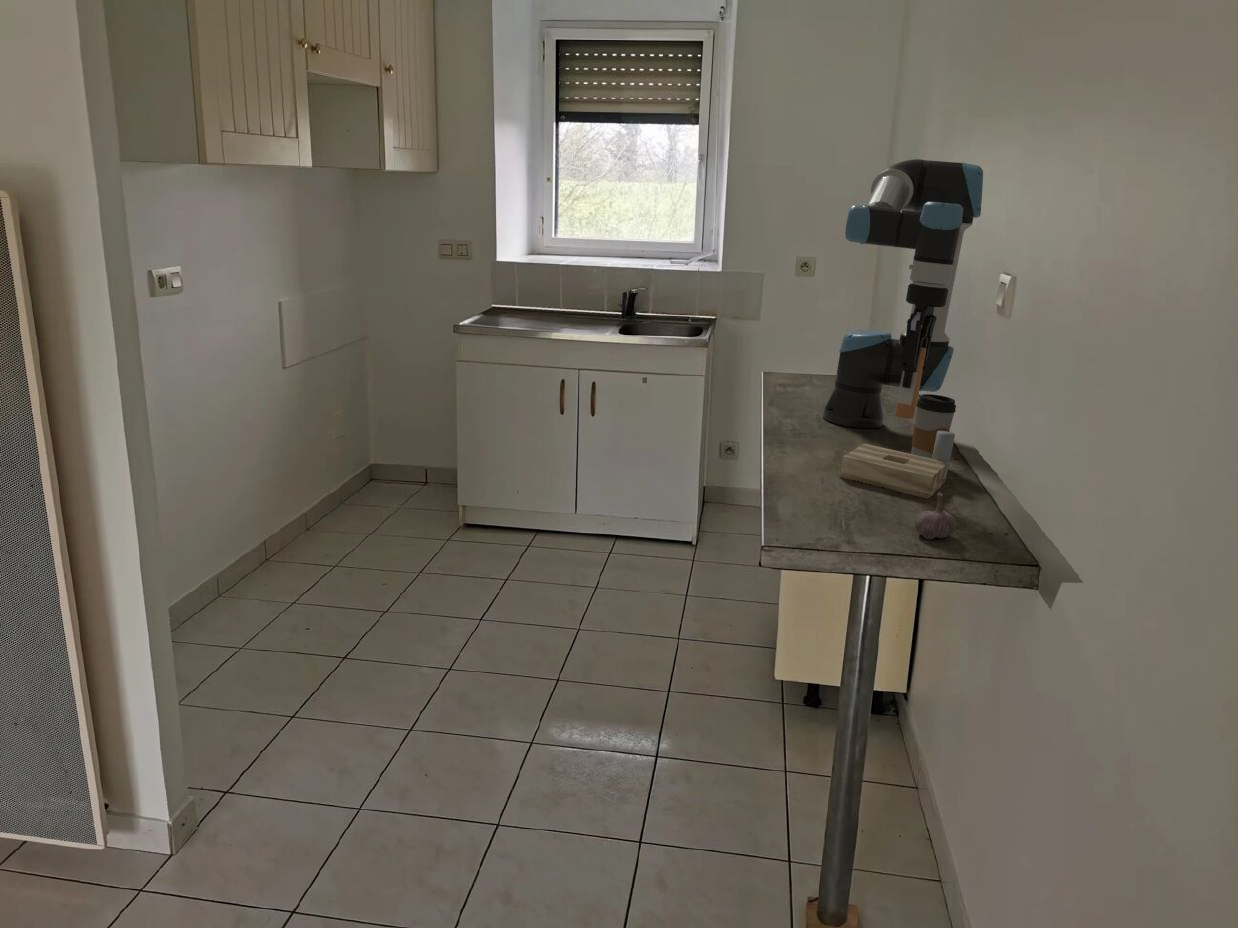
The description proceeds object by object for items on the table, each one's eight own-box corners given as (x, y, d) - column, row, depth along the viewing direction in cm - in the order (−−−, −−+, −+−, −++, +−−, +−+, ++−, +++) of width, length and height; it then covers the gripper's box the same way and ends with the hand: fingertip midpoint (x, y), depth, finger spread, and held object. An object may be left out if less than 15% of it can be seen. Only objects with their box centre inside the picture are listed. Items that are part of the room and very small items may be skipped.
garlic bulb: (923, 543, 163) (932, 499, 161) (903, 527, 170) (911, 485, 168) (963, 544, 165) (972, 500, 163) (942, 528, 172) (951, 486, 169)
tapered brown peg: (897, 413, 196) (910, 345, 192) (915, 416, 194) (928, 348, 190) (893, 415, 193) (905, 347, 189) (910, 419, 191) (923, 350, 187)
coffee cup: (928, 457, 218) (940, 393, 214) (952, 469, 211) (966, 402, 206) (897, 458, 215) (910, 393, 211) (921, 470, 208) (934, 402, 203)
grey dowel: (930, 475, 204) (939, 429, 202) (947, 479, 203) (956, 433, 200) (926, 478, 201) (935, 432, 199) (943, 482, 200) (952, 436, 197)
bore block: (860, 463, 208) (863, 443, 207) (944, 483, 200) (948, 462, 198) (839, 477, 196) (843, 456, 195) (927, 498, 188) (932, 477, 187)
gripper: (920, 280, 195) (899, 392, 202) (898, 283, 181) (876, 404, 188) (957, 285, 191) (935, 399, 198) (938, 289, 178) (915, 412, 184)
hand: (906, 401), depth 193 cm, fingers closed on tapered brown peg, 3 cm apart
